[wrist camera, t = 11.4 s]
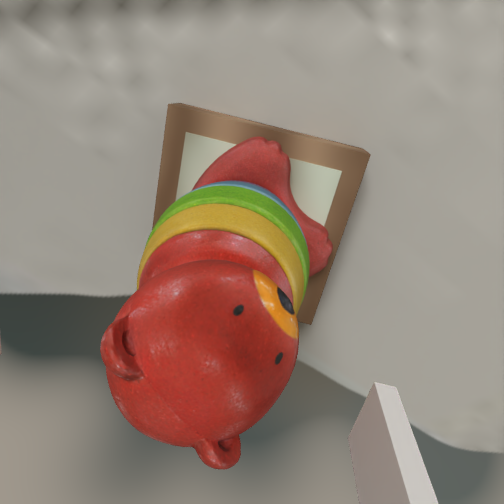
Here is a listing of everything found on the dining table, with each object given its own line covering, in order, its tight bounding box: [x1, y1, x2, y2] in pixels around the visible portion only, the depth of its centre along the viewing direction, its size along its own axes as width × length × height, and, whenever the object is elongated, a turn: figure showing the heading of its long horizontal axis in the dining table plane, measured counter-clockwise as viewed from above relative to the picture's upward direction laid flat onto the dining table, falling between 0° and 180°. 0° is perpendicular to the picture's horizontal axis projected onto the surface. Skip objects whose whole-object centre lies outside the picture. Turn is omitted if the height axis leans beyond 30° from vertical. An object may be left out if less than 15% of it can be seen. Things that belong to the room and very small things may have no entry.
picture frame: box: [152, 103, 371, 325], centre depth 29 cm, size 14×14×3 cm
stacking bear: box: [100, 136, 333, 469], centre depth 20 cm, size 11×10×18 cm
